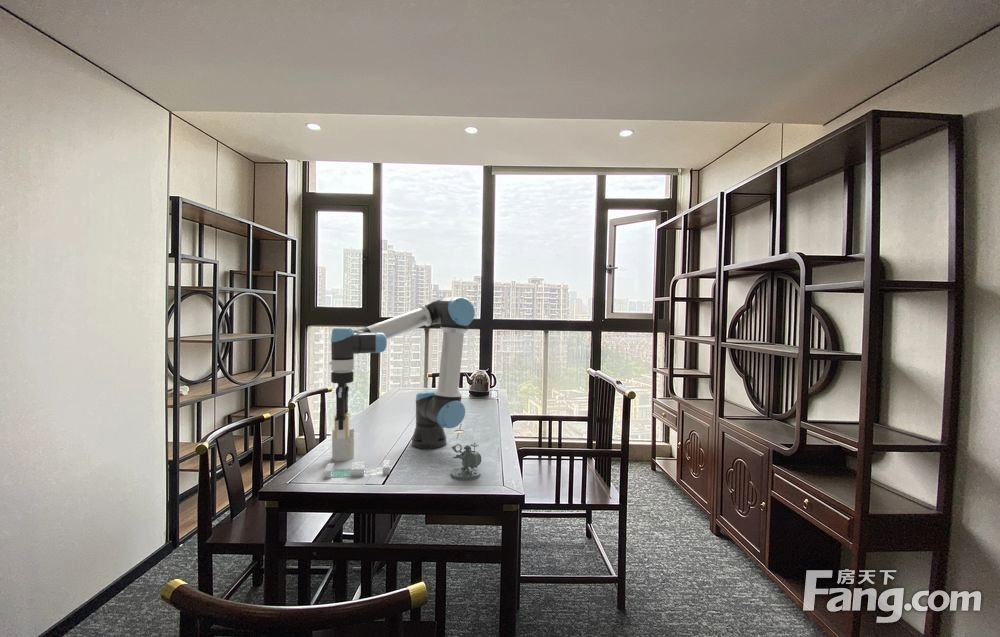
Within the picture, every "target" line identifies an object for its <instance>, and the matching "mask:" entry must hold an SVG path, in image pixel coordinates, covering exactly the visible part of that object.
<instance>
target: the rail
mask: <svg viewBox="0 0 1000 637" xmlns="http://www.w3.org/2000/svg"><path fill="white" fill-rule="evenodd" d="M366 463H367V461H366V460H362V461H352V463H351V467H350V468H339V469H337V468H336V469H335V462H331V463H330V462H329V463H327V464H326V466H325V469H324V472H323V479H324V480H325V479H327V480H328V479H339V478H340V479H342V478H354V477H369V476H383V475H385V476H387V475H390V470H391V459H384V460H383V466H374V467H366V466H367V464H366Z"/></svg>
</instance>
